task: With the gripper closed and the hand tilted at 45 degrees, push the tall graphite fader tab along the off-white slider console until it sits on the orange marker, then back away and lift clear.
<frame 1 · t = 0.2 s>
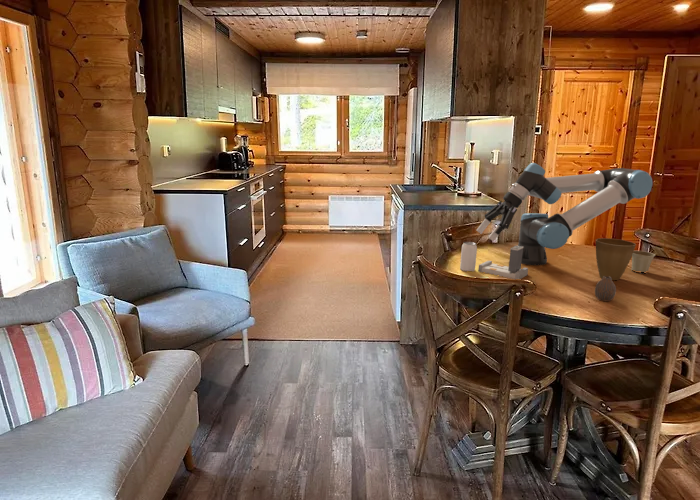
hand: (484, 235, 213), 15 cm above the table, tool tilted 35°, fingers open, 13 cm apart
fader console: (502, 273, 212), on the table
can: (467, 270, 216), on the table
flower pot: (639, 272, 220), on the table
vase: (603, 300, 182), on the table
fader tab: (515, 260, 208), point 7 cm above the table, slide at 0.0 cm
plant pot: (609, 278, 209), on the table
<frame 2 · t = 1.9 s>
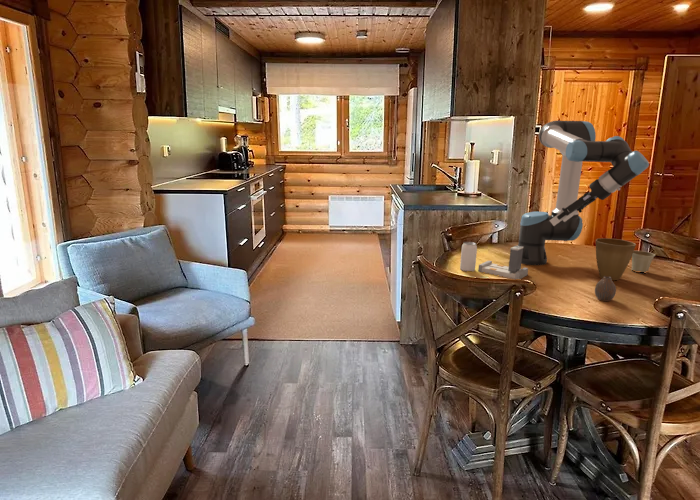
hand: (557, 221, 194), 26 cm above the table, tool tilted 45°, fingers open, 12 cm apart
nothing on the table moved.
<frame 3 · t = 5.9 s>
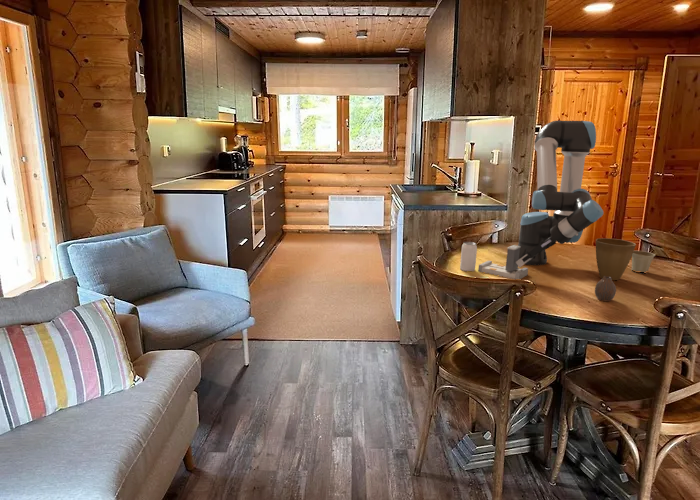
hand: (518, 264, 207), 5 cm above the table, tool tilted 45°, fingers closed
fader tab: (512, 259, 209), point 7 cm above the table, slide at 1.3 cm, touching gripper
everything else where it was.
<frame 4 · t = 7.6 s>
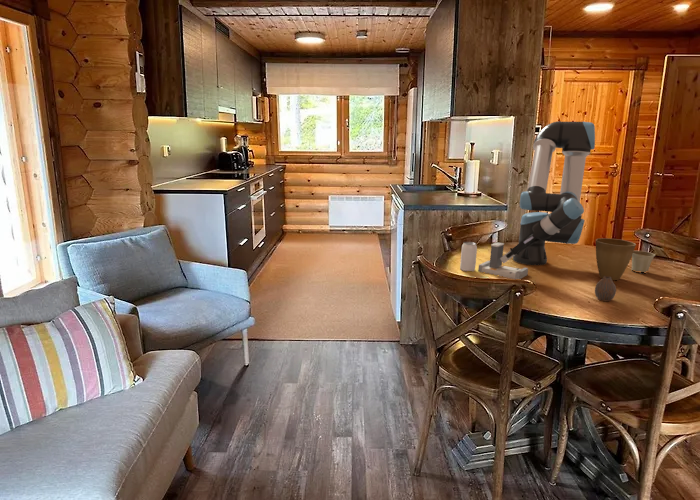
hand: (502, 260, 212), 6 cm above the table, tool tilted 45°, fingers closed
fader tab: (496, 256, 213), point 7 cm above the table, slide at 8.5 cm, touching gripper
everything else where it was.
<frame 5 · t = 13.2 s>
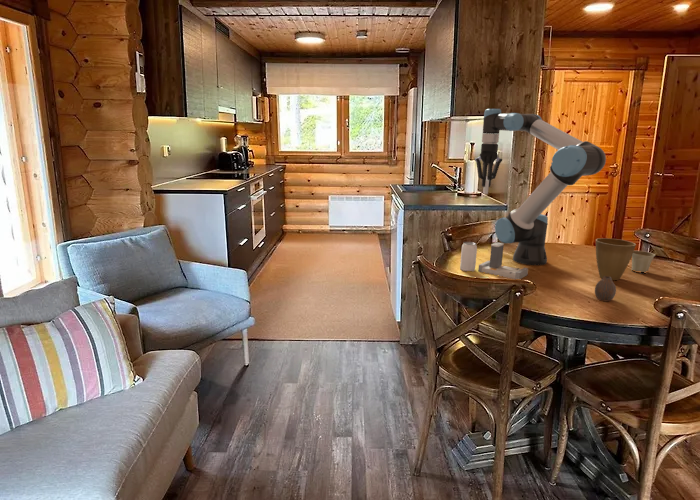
hand: (485, 193, 235), 30 cm above the table, tool pointing down, fingers closed
fader tab: (496, 256, 213), point 7 cm above the table, slide at 8.5 cm
everything else where it was.
at the end: fader tab slide at 8.5 cm; can moved 0.2 cm from its start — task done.
